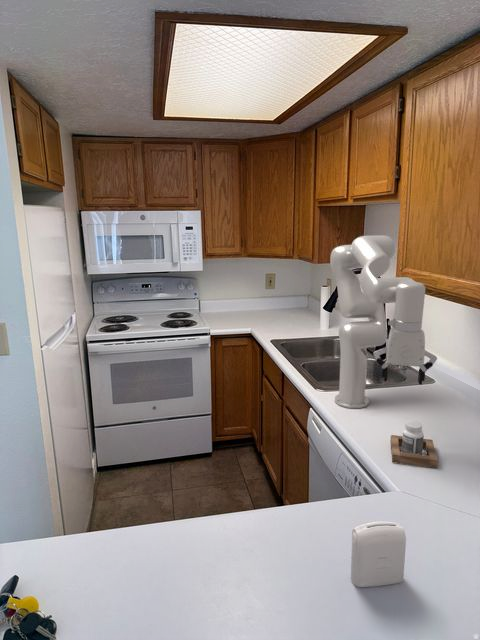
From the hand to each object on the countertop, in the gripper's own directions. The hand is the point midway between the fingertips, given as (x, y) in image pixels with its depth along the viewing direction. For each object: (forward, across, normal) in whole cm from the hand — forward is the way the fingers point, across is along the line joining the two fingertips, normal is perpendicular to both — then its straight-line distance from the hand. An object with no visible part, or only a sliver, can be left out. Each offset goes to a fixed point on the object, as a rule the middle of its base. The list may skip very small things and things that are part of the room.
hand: (402, 381), depth 126 cm
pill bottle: (+22, +4, -3) cm, 23 cm away
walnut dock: (+22, +4, -3) cm, 22 cm away
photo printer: (+21, -8, -53) cm, 57 cm away
